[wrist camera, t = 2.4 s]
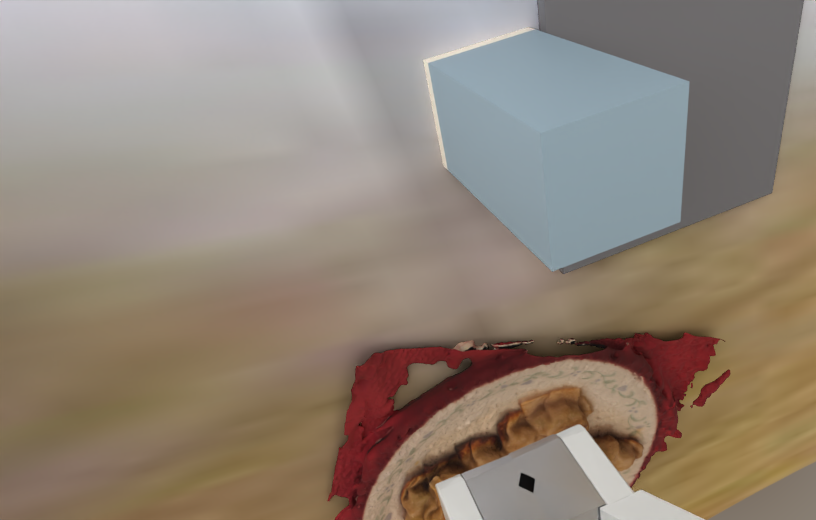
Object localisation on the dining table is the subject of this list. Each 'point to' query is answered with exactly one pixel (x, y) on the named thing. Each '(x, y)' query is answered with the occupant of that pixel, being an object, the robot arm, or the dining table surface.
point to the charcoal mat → (702, 85)
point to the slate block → (562, 141)
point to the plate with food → (507, 414)
